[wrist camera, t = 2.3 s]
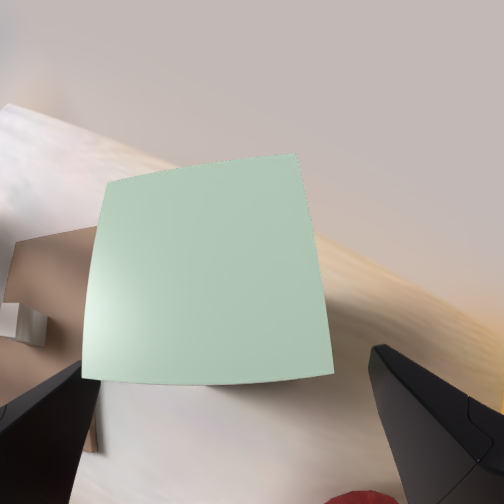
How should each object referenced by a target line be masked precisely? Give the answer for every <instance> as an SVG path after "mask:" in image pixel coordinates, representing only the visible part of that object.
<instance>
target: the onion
mask: <svg viewBox="0 0 504 504" xmlns="http://www.w3.org/2000/svg"><path fill="white" fill-rule="evenodd" d="M325 504H399V503H398V502H397V501H396V500H395V499H394V498H392V497H390V496H388V495H385V494H382V493H379V492H375V491H372V490H369V491H351V492H348V493H346V494H343V495H340V496H337V497H335V498H332V499H330V500H329V501H327V502H326V503H325Z"/></svg>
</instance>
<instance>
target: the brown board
mask: <svg viewBox="0 0 504 504" xmlns="http://www.w3.org/2000/svg"><path fill="white" fill-rule="evenodd" d="M96 231H97V226H95V227H90V228H84V229H79V230H74V231H68V232H63V233H58V234H53V235H48V236H44V237H39V238H34V239H29V240H25V241H20V242H16V245H15V249H14V253H13V257H12V261H11V265H10V270H9V274H8V279H7V284H6V290H5V295H4V301H3V303H1V310H0V407H2V406H3V405H5V404H8V402H10V401H12V400H13V399H15V398H17V397H18V396H20V395H22V394H23V393H25V392H27V391H28V390H30V389H32V388H33V387H35V386H37V385H38V384H40V383H42V382H43V381H45V380H47V379H48V378H50V377H52V376H53V375H55V374H57V373H58V372H60V371H62V370H63V369H65V368H67V367H68V366H70V365H72V364H73V363H75V362H77V361H78V360H81V359H82V347H83V329H84V316H85V305H86V295H87V287H88V279H89V272H90V265H91V259H92V253H93V247H94V242H95V236H96ZM83 450H84V451H88V452H91V453H92V452H96V451H98V449H97V439H96V427H95V411H94V414H93V418H92V422H91V425H90V428H89V432H88V435H87V438H86V441H85V444H84V448H83Z"/></svg>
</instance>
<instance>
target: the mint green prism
mask: <svg viewBox="0 0 504 504" xmlns="http://www.w3.org/2000/svg"><path fill="white" fill-rule="evenodd" d="M329 374H334V366H333V357H332V349H331V341H330V333H329V326H328V318H327V311H326V304H325V298H324V291H323V285H322V279H321V273H320V267H319V261H318V255H317V250H316V244H315V239H314V234H313V228H312V224H311V218H310V213H309V208H308V203H307V198H306V194H305V189H304V185H303V180H302V175H301V171H300V166H299V162H298V158H297V154H285V155H274V156H264V157H255V158H246V159H238V160H229V161H222V162H215V163H208V164H201V165H195V166H189V167H182V168H177V169H171V170H165V171H160V172H155V173H150V174H145V175H140V176H135V177H130V178H126V179H121V180H117V181H112V182H108V184H107V188H106V192H105V195H104V200H103V204H102V208H101V212H100V217H99V222H98V226H97V231H96V236H95V242H94V247H93V253H92V259H91V265H90V272H89V279H88V287H87V295H86V305H85V316H84V329H83V347H82V378H87V379H95V380H103V381H113V382H124V383H137V384H154V385H188V386H205V385H236V384H253V383H267V382H278V381H288V380H297V379H304V378H311V377H317V376H323V375H329Z"/></svg>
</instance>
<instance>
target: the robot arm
mask: <svg viewBox="0 0 504 504" xmlns="http://www.w3.org/2000/svg"><path fill="white" fill-rule="evenodd" d="M368 370H369V376H370V380H371V384H372V388H373V392H374V396H375V400H376V405H377V409H378V413H379V416H380V419H381V422H382V425H383V428H384V431H385V433H386V436H387V439H388V442H389V445H390V448H391V451H392V454H393V457H394V460H395V463H396V466H397V469H398V472H399V475H400V478H401V481H402V485H403V488H404V491H405V494H406V498H407V501H408V504H504V415H503V414H501V413H499V412H497V411H495V410H493V409H491V408H489V407H487V406H485V405H484V404H482V403H480V402H478V401H477V400H475V399H474V398H472V397H470V396H468V395H467V394H465V393H464V392H462V391H460V390H459V389H457V388H456V387H454V386H452V385H451V384H449V383H447V382H446V381H444V380H443V379H441V378H439V377H438V376H436V375H435V374H433V373H431V372H430V371H428V370H426V369H425V368H423V367H422V366H420V365H418V364H417V363H415V362H414V361H412V360H410V359H409V358H407V357H406V356H404V355H402V354H401V353H399V352H398V351H396V350H394V349H393V348H391V347H390V346H388V345H386V344H380V345H375V346H373V347H372V349H371V354H370V360H369V366H368ZM100 384H101V381H100V380H95V379H87V378H82V359H81V360H78V361H77V362H75V363H73V364H72V365H70V366H68V367H67V368H65V369H63V370H62V371H60V372H58V373H57V374H55V375H53V376H52V377H50V378H48V379H47V380H45V381H43V382H42V383H40V384H38V385H37V386H35V387H33V388H32V389H30V390H28V391H27V392H25V393H23V394H22V395H20V396H18V397H17V398H15V399H13V400H12V401H10V402H8V404H5V405H3V406H2V407H0V504H69V500H70V496H71V492H72V488H73V484H74V480H75V476H76V472H77V469H78V465H79V461H80V458H81V454H82V451H83V448H84V444H85V441H86V438H87V435H88V432H89V428H90V425H91V422H92V418H93V414H94V410H95V405H96V401H97V397H98V393H99V389H100Z"/></svg>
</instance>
